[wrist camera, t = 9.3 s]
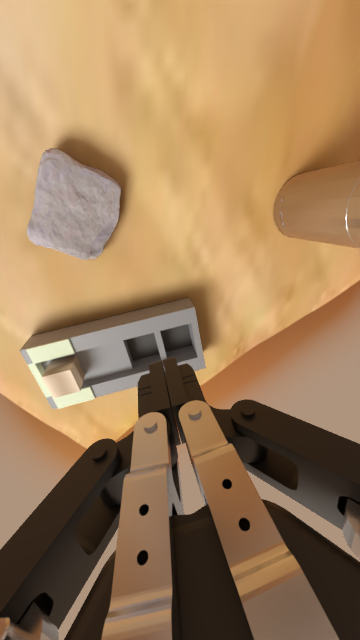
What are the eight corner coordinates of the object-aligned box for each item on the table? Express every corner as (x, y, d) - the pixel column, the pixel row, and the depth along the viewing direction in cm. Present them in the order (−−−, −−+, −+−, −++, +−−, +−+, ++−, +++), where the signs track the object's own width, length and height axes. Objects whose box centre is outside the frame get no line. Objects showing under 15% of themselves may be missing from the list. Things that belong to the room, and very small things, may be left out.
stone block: (125, 181, 34) (45, 143, 30) (131, 182, 30) (40, 138, 26) (102, 261, 38) (29, 238, 34) (104, 270, 35) (22, 246, 30)
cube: (76, 355, 38) (70, 369, 35) (85, 375, 40) (80, 391, 36) (50, 361, 38) (41, 377, 34) (60, 381, 40) (53, 398, 36)
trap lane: (188, 297, 41) (195, 307, 37) (199, 354, 46) (206, 368, 41) (31, 336, 39) (18, 351, 34) (60, 390, 44) (52, 410, 39)
